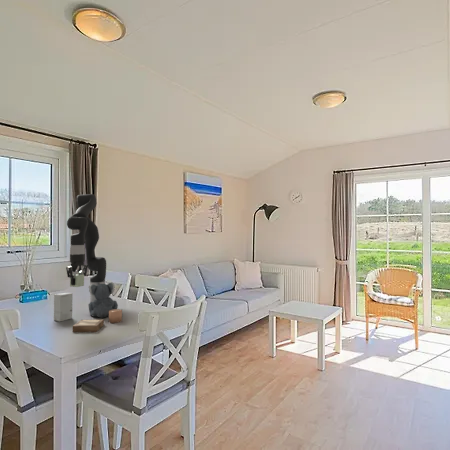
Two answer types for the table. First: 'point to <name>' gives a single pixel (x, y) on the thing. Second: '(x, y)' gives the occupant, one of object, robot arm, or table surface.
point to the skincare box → (62, 306)
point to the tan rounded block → (115, 315)
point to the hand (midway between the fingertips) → (77, 284)
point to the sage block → (78, 281)
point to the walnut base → (88, 325)
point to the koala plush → (102, 300)
